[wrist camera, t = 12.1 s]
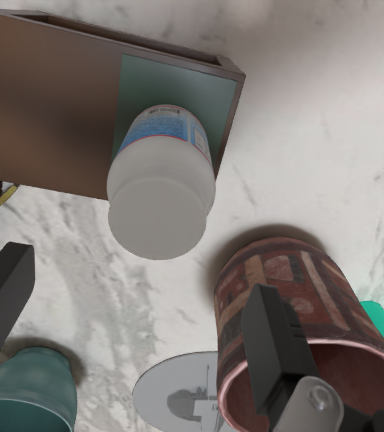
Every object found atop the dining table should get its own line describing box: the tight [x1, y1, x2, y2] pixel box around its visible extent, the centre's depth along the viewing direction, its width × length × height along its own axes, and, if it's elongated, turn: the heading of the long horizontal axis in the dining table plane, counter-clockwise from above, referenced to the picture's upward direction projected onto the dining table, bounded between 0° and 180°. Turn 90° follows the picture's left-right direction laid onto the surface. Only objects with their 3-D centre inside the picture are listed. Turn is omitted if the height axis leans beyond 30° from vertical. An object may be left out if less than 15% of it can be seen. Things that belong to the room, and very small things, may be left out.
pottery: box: [214, 236, 384, 432], centre depth 38 cm, size 18×18×18 cm
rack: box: [0, 9, 246, 201], centre depth 29 cm, size 12×18×11 cm, turn 77°
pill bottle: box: [107, 104, 216, 260], centre depth 20 cm, size 6×6×11 cm
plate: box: [132, 352, 238, 432], centre depth 61 cm, size 28×28×1 cm
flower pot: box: [0, 347, 77, 432], centre depth 51 cm, size 16×16×11 cm
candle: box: [360, 301, 384, 337], centre depth 45 cm, size 6×6×12 cm
